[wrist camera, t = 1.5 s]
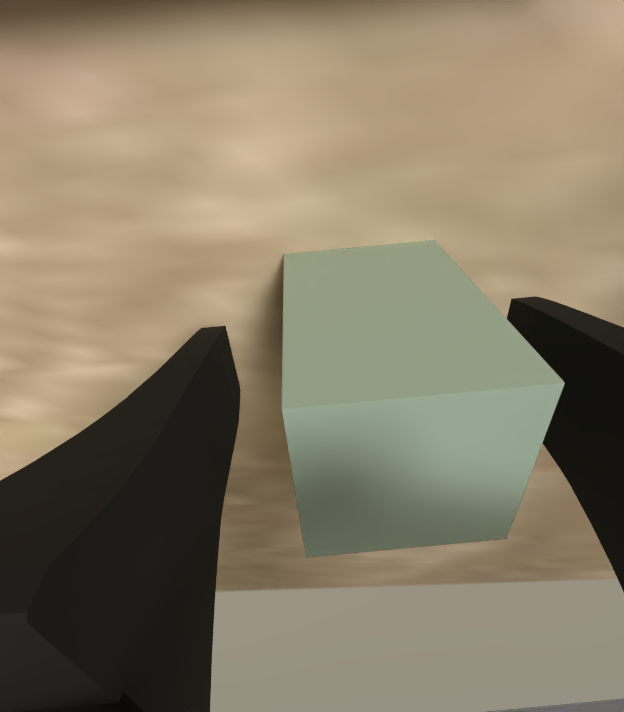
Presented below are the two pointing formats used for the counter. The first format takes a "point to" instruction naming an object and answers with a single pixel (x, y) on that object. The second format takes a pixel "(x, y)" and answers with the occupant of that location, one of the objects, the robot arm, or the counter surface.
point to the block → (405, 401)
